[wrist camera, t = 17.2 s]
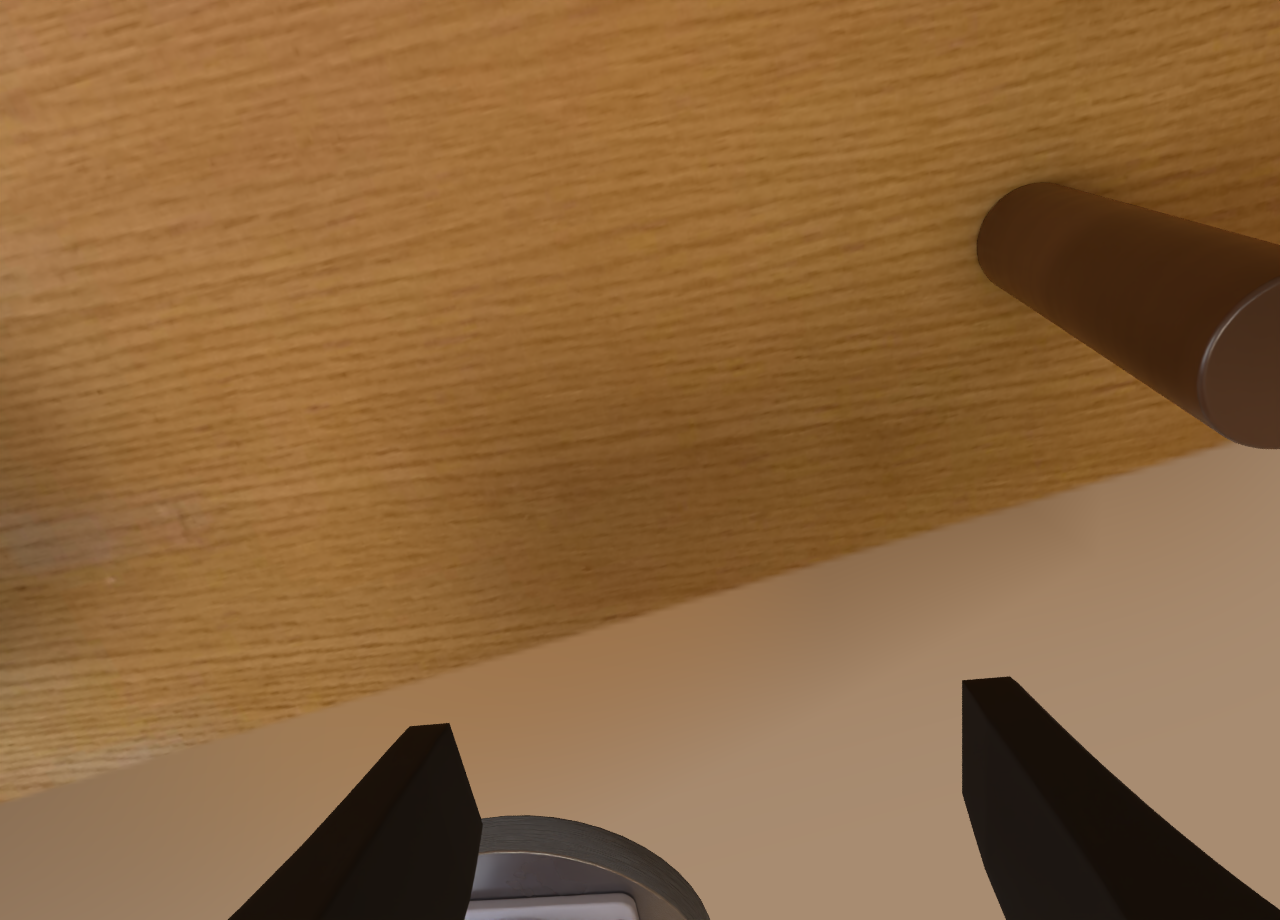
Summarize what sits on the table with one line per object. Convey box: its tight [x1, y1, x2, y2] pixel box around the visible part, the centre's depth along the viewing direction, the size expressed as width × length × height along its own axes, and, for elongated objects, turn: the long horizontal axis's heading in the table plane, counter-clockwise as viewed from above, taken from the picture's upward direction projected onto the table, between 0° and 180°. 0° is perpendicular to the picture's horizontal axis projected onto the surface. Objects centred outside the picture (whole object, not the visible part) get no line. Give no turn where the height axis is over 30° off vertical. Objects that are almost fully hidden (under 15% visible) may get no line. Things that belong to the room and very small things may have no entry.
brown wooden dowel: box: [977, 183, 1280, 449], centre depth 14 cm, size 2×2×9 cm
